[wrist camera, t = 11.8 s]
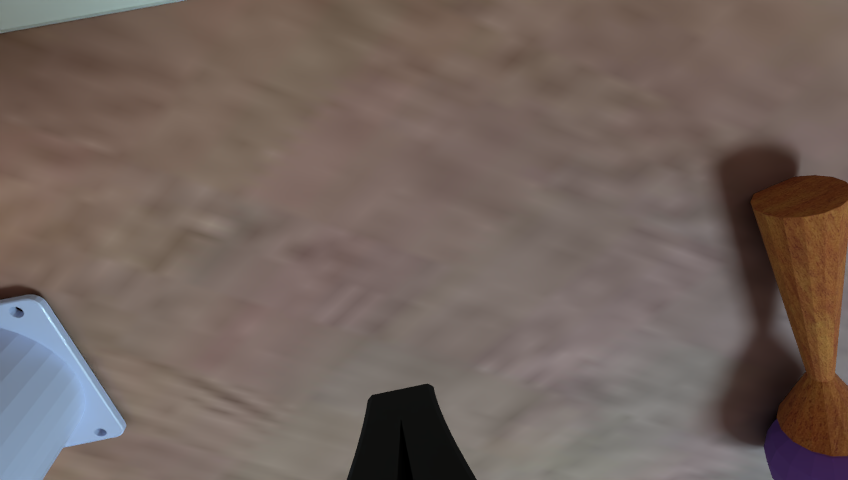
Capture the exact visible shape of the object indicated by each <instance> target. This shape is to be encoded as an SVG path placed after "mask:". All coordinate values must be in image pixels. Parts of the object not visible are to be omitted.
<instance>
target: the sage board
mask: <svg viewBox="0 0 848 480" xmlns="http://www.w3.org/2000/svg"><path fill="white" fill-rule="evenodd" d="M179 1H184V0H0V33H5V32H11V31H17V30H22V29H28V28H33V27H39V26H45V25H50V24H56V23H61V22H67V21H72V20H78V19H84V18H89V17H95V16H100V15H106V14H112V13H117V12H123V11H128V10H134V9H140V8H145V7H151V6H156V5H162V4H167V3H173V2H179Z"/></svg>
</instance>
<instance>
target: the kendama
mask: <svg viewBox="0 0 848 480" xmlns="http://www.w3.org/2000/svg"><path fill="white" fill-rule="evenodd" d="M750 203H751V206H752V209H753V212H754V215H755V218H756V221H757V224H758V227H759V230H760V233H761V236H762V239H763V242H764V245H765V248H766V251H767V254H768V257H769V260H770V263H771V266H772V269H773V272H774V276H775V279H776V282H777V285H778V288H779V291H780V294H781V297H782V300H783V303H784V306H785V309H786V312H787V315H788V318H789V321H790V324H791V327H792V330H793V333H794V336H795V339H796V342H797V345H798V348H799V352H800V355H801V358H802V361H803V364H804V367H805V370H806V372H805V373H804V375H803V376H802V377H801V378H800V380H799V381H798V382H797V383H796V385H795V386H794V387H793V388H792V390H791V391H790V392H789V393H788V395H787V396H786V397H785V398H784V400H783V401H782V402H781V403H780V405H779V408H778V412H777V419H776V420H775V421H774V422H773V423H772V425H771V426H770V428H769V429H768V431H767V435H766V439H765V444H764V449H765V454H766V459H767V462H768V466H769V469H770V472H771V475H772V478H773V479H774V480H848V386H847V385H846V384H845V383H844V382H843V381H842V380H841V379H840V378H839V376H838V375H837V374H836V373H835V367H836V356H837V346H838V336H839V325H840V315H841V305H842V294H843V284H844V273H845V263H846V253H847V242H848V183H847V182H846V181H843V180H840V179H837V178H834V177H827V176H816V175H812V176H799V177H792V178H790V179H787V180H785V181H783V182H780V183H778V184H776V185H773V186H771V187H769V188H766V189H764V190H762V191H759V192H757V193H755V194H753V197H752V199H751V202H750Z"/></svg>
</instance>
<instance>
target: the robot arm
mask: <svg viewBox="0 0 848 480" xmlns="http://www.w3.org/2000/svg"><path fill="white" fill-rule="evenodd" d="M16 307H18V308H21V309H22V310H23V312H22V311H19V310H18V309H17V308H16ZM125 428H126V423H125V421H124V419H123V418H122V416H121V415H120V413H119V412H118V410H117V409H116V407H115V406H114V404H113V403H112V401H111V400H110V398H109V396H108V395H107V393H106V392H105V390H104V389H103V387H102V386H101V384H100V383H99V381H98V380H97V378H96V377H95V375H94V374H93V372H92V370H91V369H90V367H89V366H88V364H87V363H86V361H85V360H84V358H83V357H82V355H81V354H80V352H79V351H78V349H77V348H76V346H75V344H74V343H73V341H72V340H71V338H70V337H69V335H68V334H67V332H66V331H65V329H64V328H63V326H62V325H61V323H60V322H59V320H58V318H57V317H56V315H55V314H54V312H53V311H52V309H51V308H50V306H49V305H48V303H47V302H46V301H45V300H44V299H43V298H41V297H40V296H37V295H33V294H30V295H23V296H18V297H13V298H7V299H2V300H0V480H43V478H44V476H45V475H46V473H47V472H48V470H49V469H50V467H51V466H52V464H53V462H54V461H55V459H56V458H57V456H58V455H59V453H60V451H61V450H62V448H64V447H69V446H73V445H78V444H83V443H88V442H93V441H98V440H103V439H108V438H113V437H117V436H120V435H121V434H122V433H123V432H124V430H125ZM347 480H477V479H476V478H475V476H474V474H473V473H472V471H471V469H470V467H469V466H468V464H467V462H466V460H465V459H464V457H463V455H462V453H461V451H460V450H459V448H458V446H457V444H456V442H455V440H454V438H453V436H452V434H451V432H450V430H449V428H448V426H447V424H446V422H445V420H444V417H443V415H442V412H441V410H440V407H439V405H438V402H437V399H436V395H435V392H434V387H433V386H431V385H429V384H423V385H418V386H414V387H409V388H404V389H399V390H394V391H390V392H385V393H380V394H375V395H372V396H371V397H370V398H369V399H368V403H367V408H366V414H365V418H364V423H363V427H362V431H361V435H360V438H359V442H358V446H357V449H356V453H355V456H354V459H353V462H352V465H351V468H350V471H349V475H348V478H347Z"/></svg>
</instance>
